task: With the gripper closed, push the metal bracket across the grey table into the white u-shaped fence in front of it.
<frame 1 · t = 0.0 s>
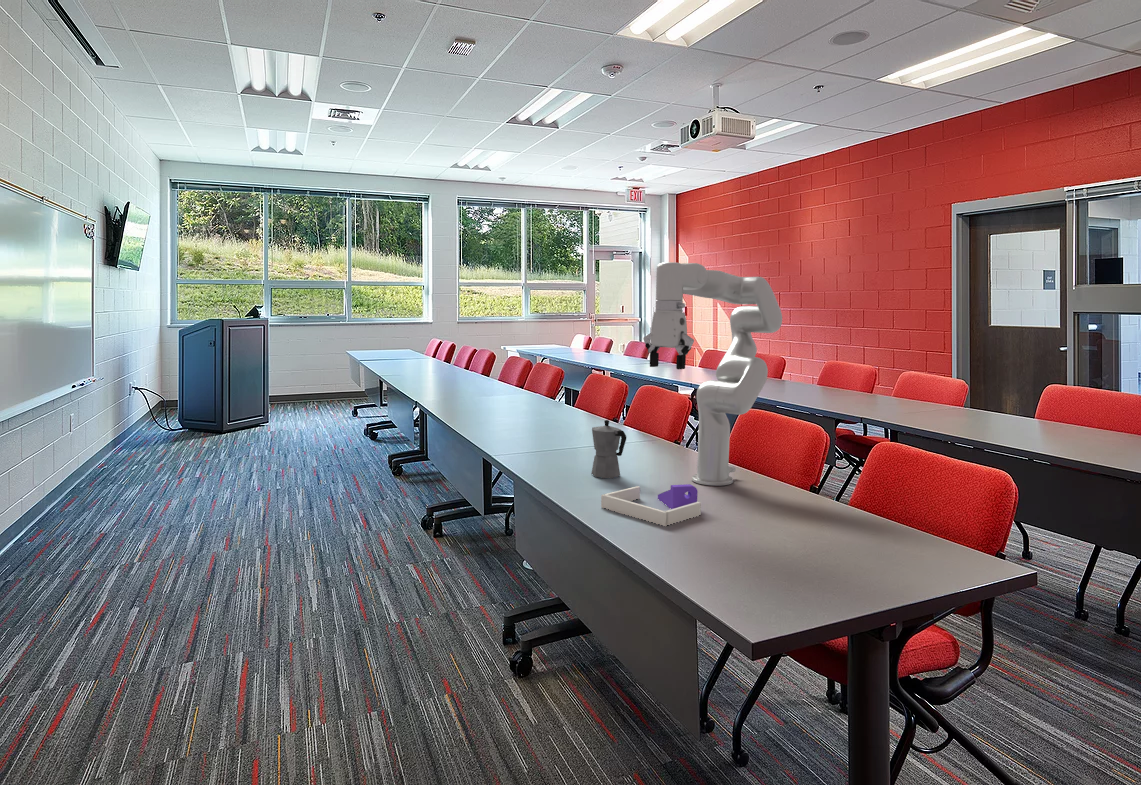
hand: (667, 367, 199), 37 cm above the table, tool pointing down, fingers open, 9 cm apart
coffeepot: (607, 476, 225), on the table
bracket: (676, 506, 194), on the table
white u-shaped fence: (650, 511, 186), on the table
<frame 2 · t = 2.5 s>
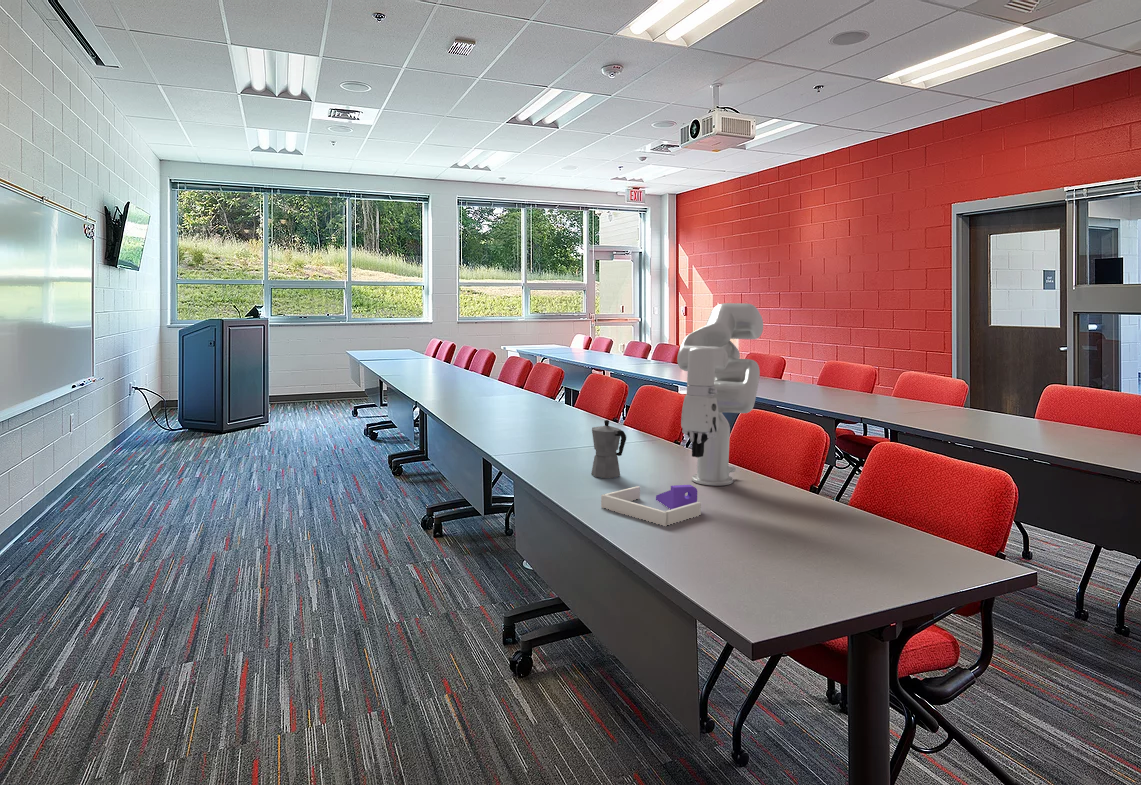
hand: (697, 456, 198), 12 cm above the table, tool pointing down, fingers closed
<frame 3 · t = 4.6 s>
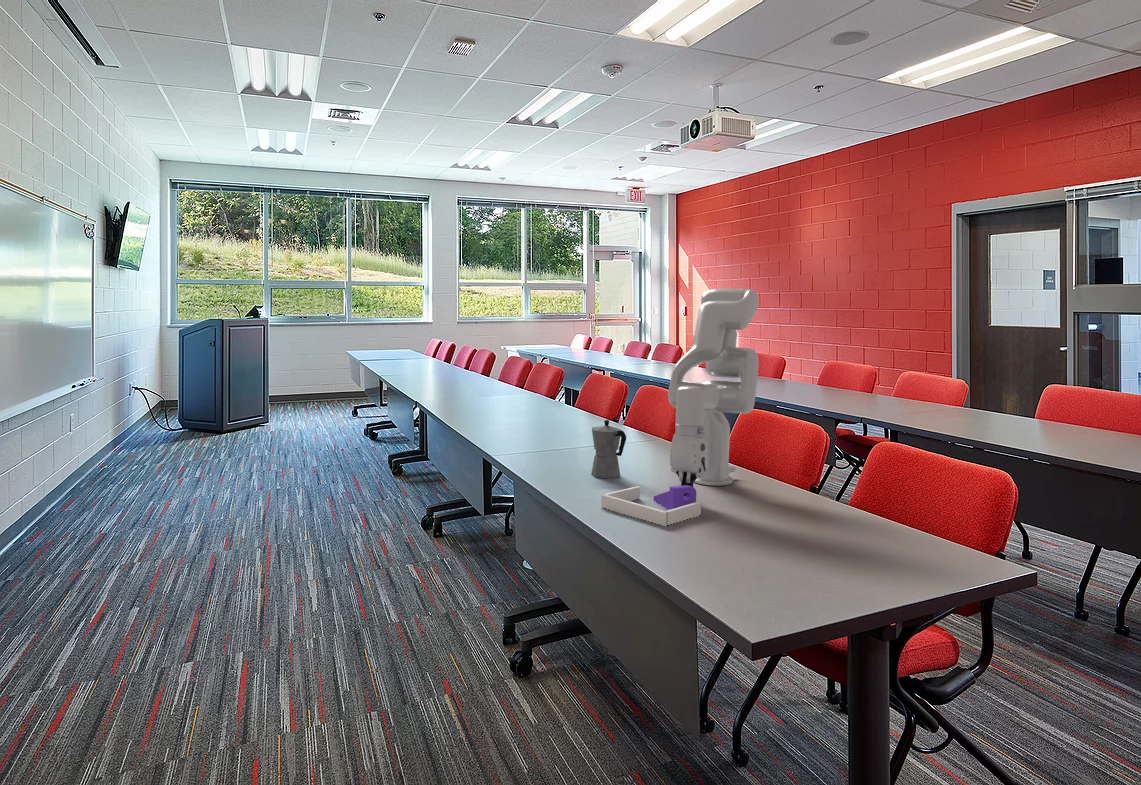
hand: (686, 495, 196), 2 cm above the table, tool pointing down, fingers closed
bracket: (674, 507, 192), on the table, touching gripper
everything else where it was.
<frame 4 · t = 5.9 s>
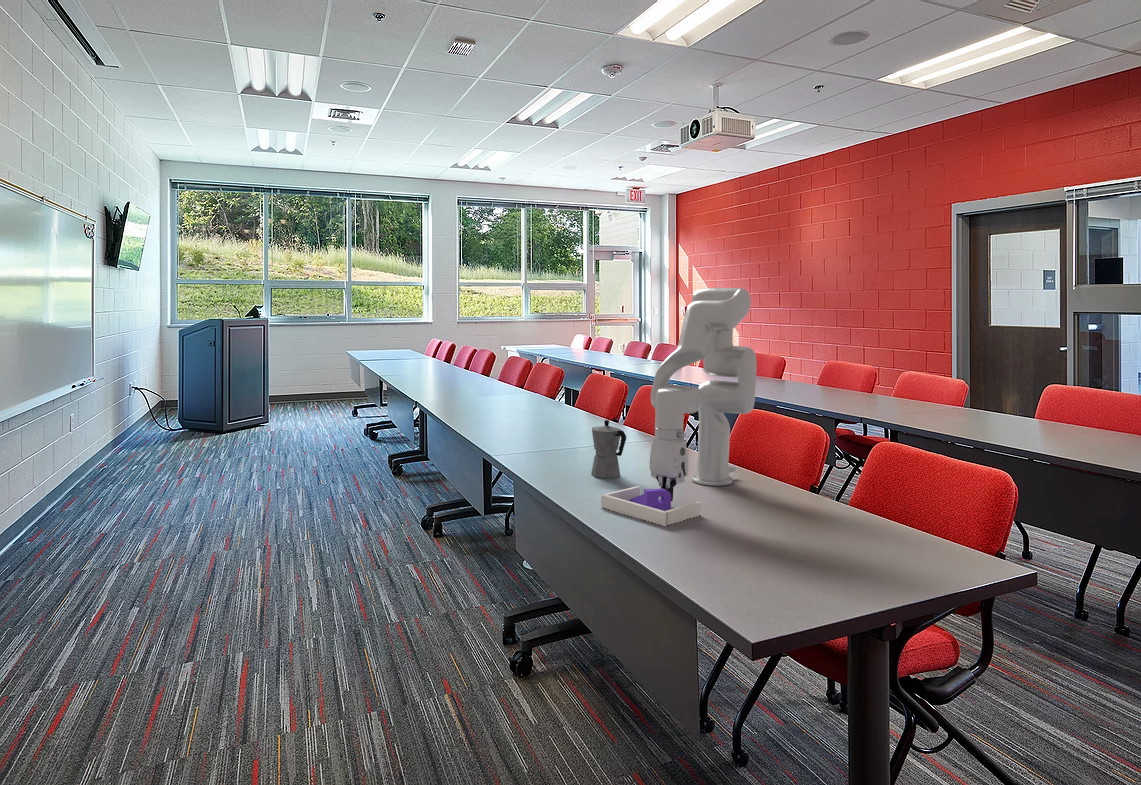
hand: (666, 501, 190), 2 cm above the table, tool pointing down, fingers closed
bracket: (649, 510, 189), on the table, touching gripper
everything else where it was.
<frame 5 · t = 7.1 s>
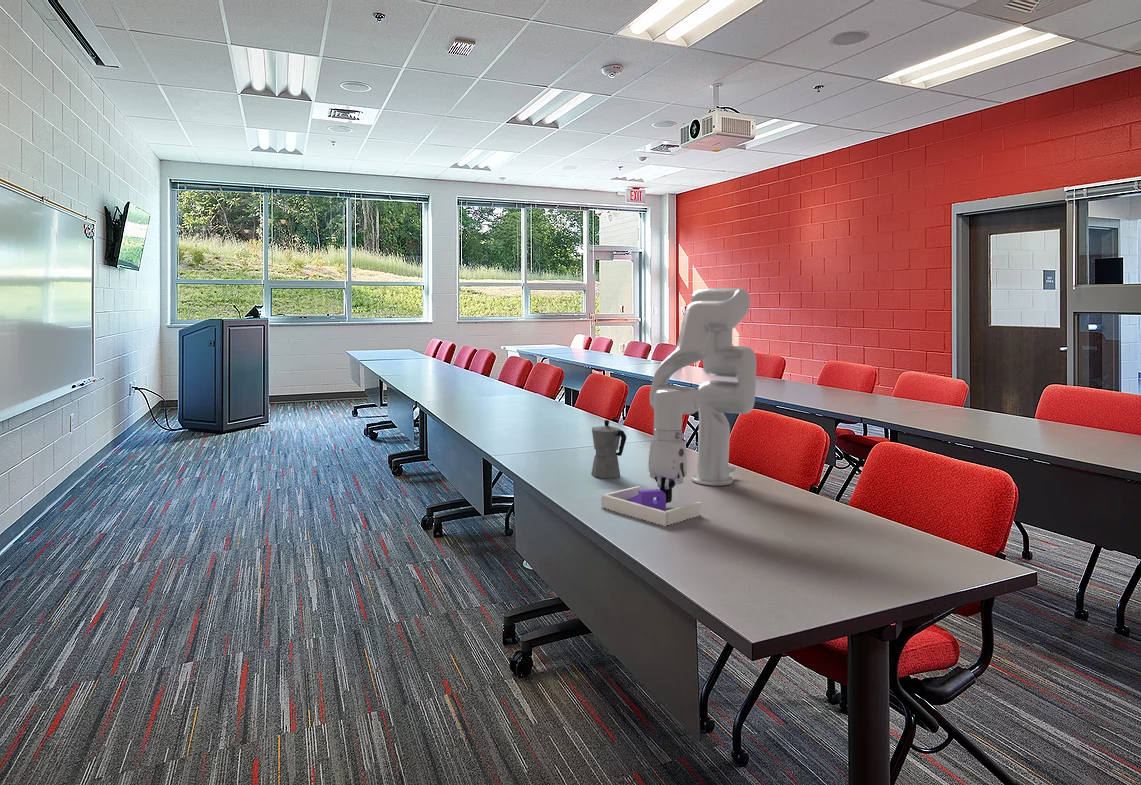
hand: (665, 502, 190), 1 cm above the table, tool pointing down, fingers closed
bracket: (644, 511, 188), on the table
everything else where it was.
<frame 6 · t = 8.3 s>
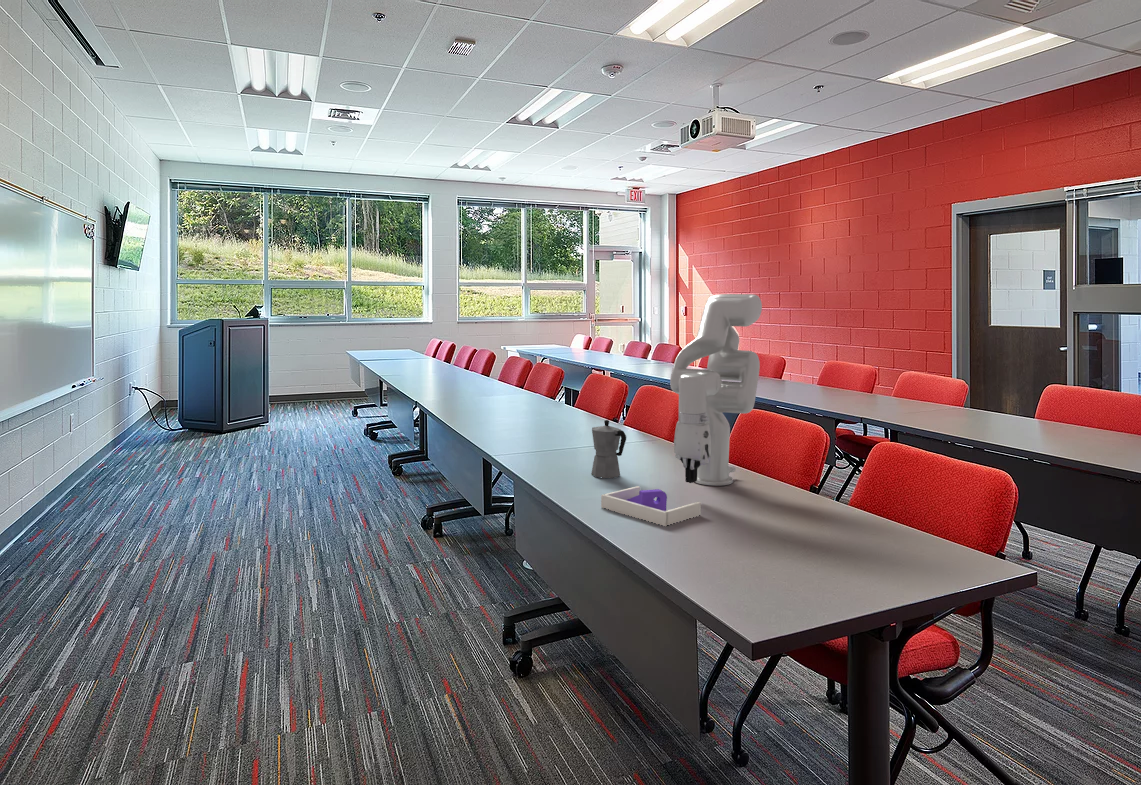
hand: (691, 481, 198), 5 cm above the table, tool pointing down, fingers closed
nothing on the table moved.
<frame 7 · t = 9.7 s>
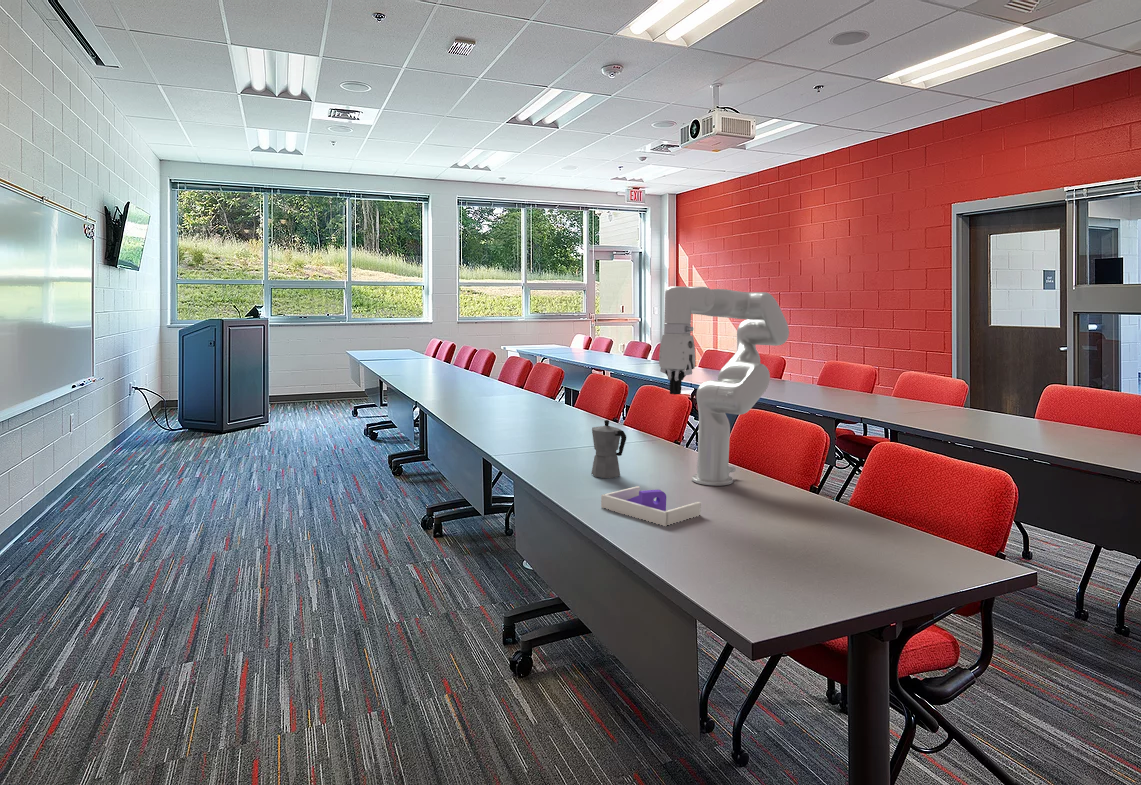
hand: (675, 393, 203), 29 cm above the table, tool pointing down, fingers closed
nothing on the table moved.
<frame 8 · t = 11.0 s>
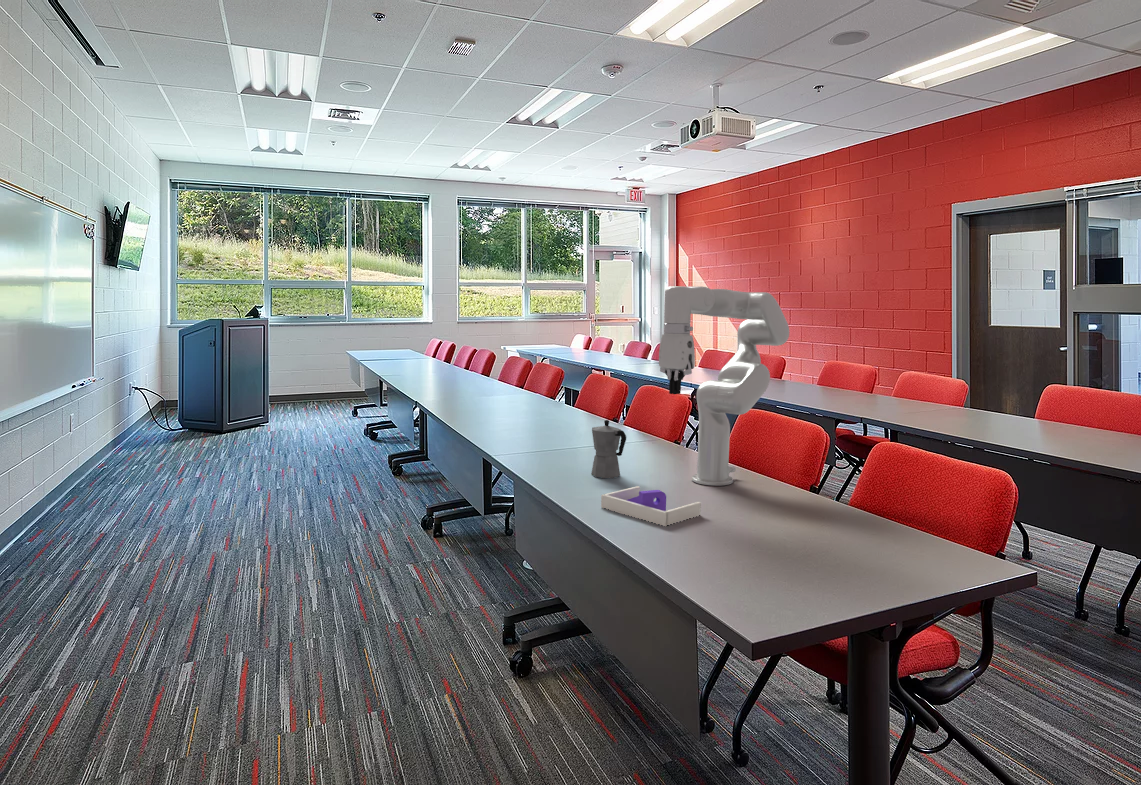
hand: (674, 393, 203), 29 cm above the table, tool pointing down, fingers closed
at the end: bracket inside the target area on the white u-shaped fence (1.7 cm from its centre), point -0.6 cm above the white u-shaped fence's base; bracket moved 12.0 cm from its start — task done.
